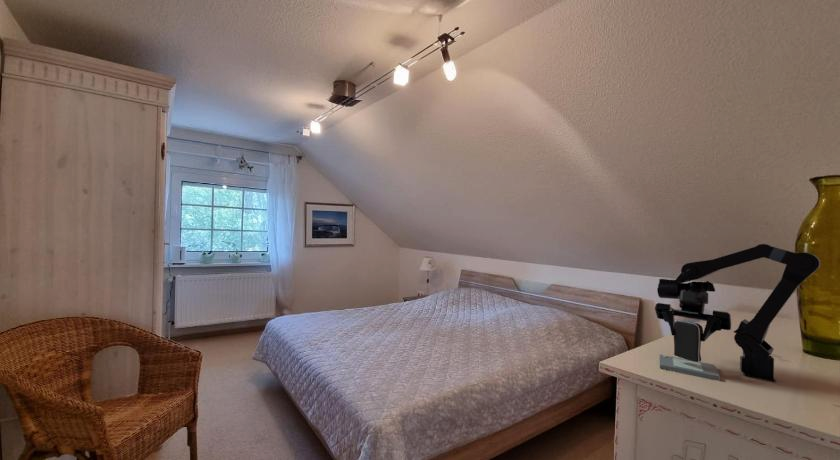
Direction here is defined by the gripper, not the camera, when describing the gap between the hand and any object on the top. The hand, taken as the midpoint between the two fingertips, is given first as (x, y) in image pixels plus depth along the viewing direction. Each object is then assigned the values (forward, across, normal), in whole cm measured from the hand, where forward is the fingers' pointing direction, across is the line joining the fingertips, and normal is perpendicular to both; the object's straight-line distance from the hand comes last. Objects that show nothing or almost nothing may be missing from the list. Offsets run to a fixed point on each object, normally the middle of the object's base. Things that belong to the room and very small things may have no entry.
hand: (687, 337), depth 105 cm
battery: (+4, 0, +6) cm, 7 cm away
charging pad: (+6, 0, +8) cm, 10 cm away
